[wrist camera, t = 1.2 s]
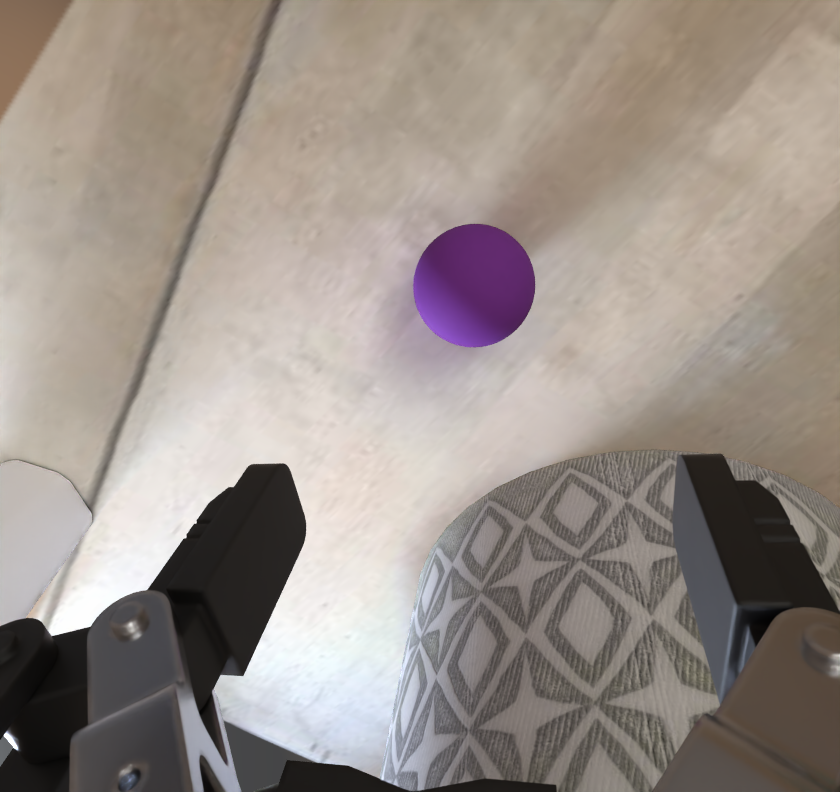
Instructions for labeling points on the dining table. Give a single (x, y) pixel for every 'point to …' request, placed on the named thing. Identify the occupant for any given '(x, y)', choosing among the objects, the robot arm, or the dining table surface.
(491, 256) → the ball
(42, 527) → the cup
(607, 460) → the planter
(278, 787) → the robot arm
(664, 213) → the dining table surface
